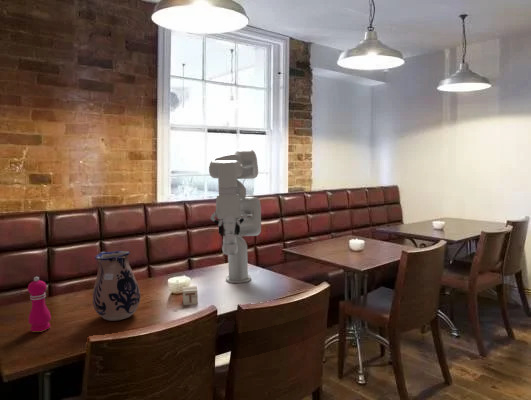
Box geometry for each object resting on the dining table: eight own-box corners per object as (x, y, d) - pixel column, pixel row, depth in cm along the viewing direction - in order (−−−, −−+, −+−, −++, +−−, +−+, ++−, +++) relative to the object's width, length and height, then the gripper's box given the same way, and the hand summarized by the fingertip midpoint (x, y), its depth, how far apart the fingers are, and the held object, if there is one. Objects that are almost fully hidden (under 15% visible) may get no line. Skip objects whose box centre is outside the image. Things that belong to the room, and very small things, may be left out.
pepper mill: (35, 326, 157) (30, 274, 155) (55, 325, 158) (50, 273, 156) (25, 334, 150) (20, 280, 148) (46, 333, 151) (42, 279, 149)
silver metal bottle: (240, 253, 178) (239, 206, 176) (233, 257, 172) (232, 208, 169) (226, 252, 180) (225, 205, 178) (219, 256, 174) (218, 208, 172)
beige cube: (183, 300, 182) (182, 287, 181) (197, 299, 183) (196, 285, 183) (183, 305, 176) (182, 291, 175) (197, 304, 177) (197, 290, 176)
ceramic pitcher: (114, 329, 153) (110, 262, 150) (78, 318, 164) (74, 255, 161) (150, 313, 168) (147, 251, 165) (115, 304, 179) (112, 246, 176)
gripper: (247, 190, 178) (248, 231, 180) (206, 191, 175) (207, 234, 177) (250, 191, 171) (251, 235, 173) (207, 193, 168) (209, 238, 170)
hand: (229, 234), depth 175 cm, fingers closed on silver metal bottle, 6 cm apart
